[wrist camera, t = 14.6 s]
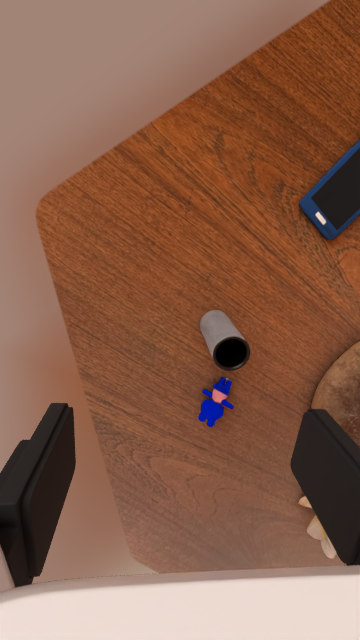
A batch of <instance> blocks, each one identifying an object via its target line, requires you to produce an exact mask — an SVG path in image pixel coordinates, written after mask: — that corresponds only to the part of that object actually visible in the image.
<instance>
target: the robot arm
mask: <svg viewBox="0 0 360 640" xmlns="http://www.w3.org/2000/svg"><path fill="white" fill-rule="evenodd" d="M75 460H76V459H75V438H74V416H73V408H72V407H68V404H67V403H51V404H50V406H49V408H48V409H47V411H46V413H45V415H44V416H43V418H42V420H41V421H40V423H39V425H38V427H37V429H36V431H35V432H34V434H33V435H32V437H31V439H30V440H22V441H20V443H19V444H18V445H17V447H16V449H15V450H14V452H13V453H12V455H11V457H10V458H9V460H8V461H7V463H6V465H5V466H4V468H3V470H2V471H1V473H0V640H360V447H359V446H358V445H357V444H356V443H355V442H354V441H353V440H352V438H351V437H350V436H349V435H348V434H347V433H346V432H345V431H344V430H343V428H342V427H341V426H340V425H339V424H338V423H337V422H336V421H335V420H334V418H333V417H332V416H331V415H330V414H329V413H328V412H327V411H326V410H325V409H309V410H308V411H307V412H305V413H304V415H303V419H302V422H301V426H300V430H299V433H298V437H297V440H296V444H295V448H294V451H293V455H292V458H291V470H292V472H293V474H294V476H295V478H296V479H297V481H298V483H299V485H300V487H301V489H302V490H303V492H304V494H305V496H306V498H307V499H308V501H309V503H310V505H311V507H312V509H313V510H314V512H315V514H316V516H317V518H318V520H319V521H320V523H321V525H322V527H323V529H324V531H325V532H326V534H327V536H328V538H329V540H330V542H331V543H332V545H333V547H334V549H335V551H336V553H337V554H338V556H339V558H340V559H341V561H342V562H343V563H346V564H347V566H324V567H296V568H271V569H247V570H224V571H202V572H181V573H161V574H141V575H122V576H121V575H120V576H106V577H91V578H77V579H64V580H56V581H48V582H40V583H35V584H32V581H33V578H34V577H37V576H40V574H41V572H42V569H43V566H44V563H45V560H46V557H47V554H48V550H49V548H50V545H51V541H52V539H53V535H54V532H55V529H56V526H57V523H58V520H59V517H60V514H61V511H62V508H63V505H64V502H65V498H66V495H67V492H68V489H69V486H70V483H71V480H72V477H73V474H74V470H75V463H76V461H75Z"/></svg>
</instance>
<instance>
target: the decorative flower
mask: <svg viewBox="0 0 360 640" xmlns="http://www.w3.org/2000/svg"><path fill="white" fill-rule="evenodd" d="M299 504H300V505H303V506H305V507H308V508H311V509H312V507H311V505H310V503H309V501H308V499H307V498H306V497H303V498H301V499H300V501H299ZM314 513H315V512H314ZM306 531H307V532H308V534H309V535H311V536H312V537H313V538H315V539H317V540H321V546H322V549H323V551H324V553H325V555H326V556H327V557H328V558H334V557H335V555H336V551H335V549H334V547H333V545H332V543H331V542H330V540H329V538H328V536H327V534H326V532H325V531H324V529H323V527H322V525H321V523H320V521H319V520H318V518H317V516H316V514H315V517H314V518H313V520H312V521H311V523H310V524H309V526H308V528H307V530H306Z"/></svg>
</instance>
